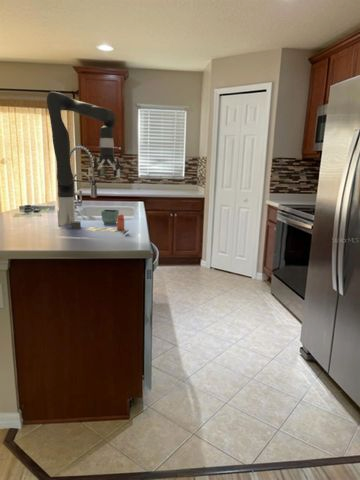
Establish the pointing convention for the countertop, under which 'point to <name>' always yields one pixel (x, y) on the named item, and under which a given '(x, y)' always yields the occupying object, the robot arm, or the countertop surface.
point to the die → (75, 224)
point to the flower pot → (109, 216)
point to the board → (105, 229)
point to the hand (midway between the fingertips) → (107, 176)
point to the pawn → (120, 222)
